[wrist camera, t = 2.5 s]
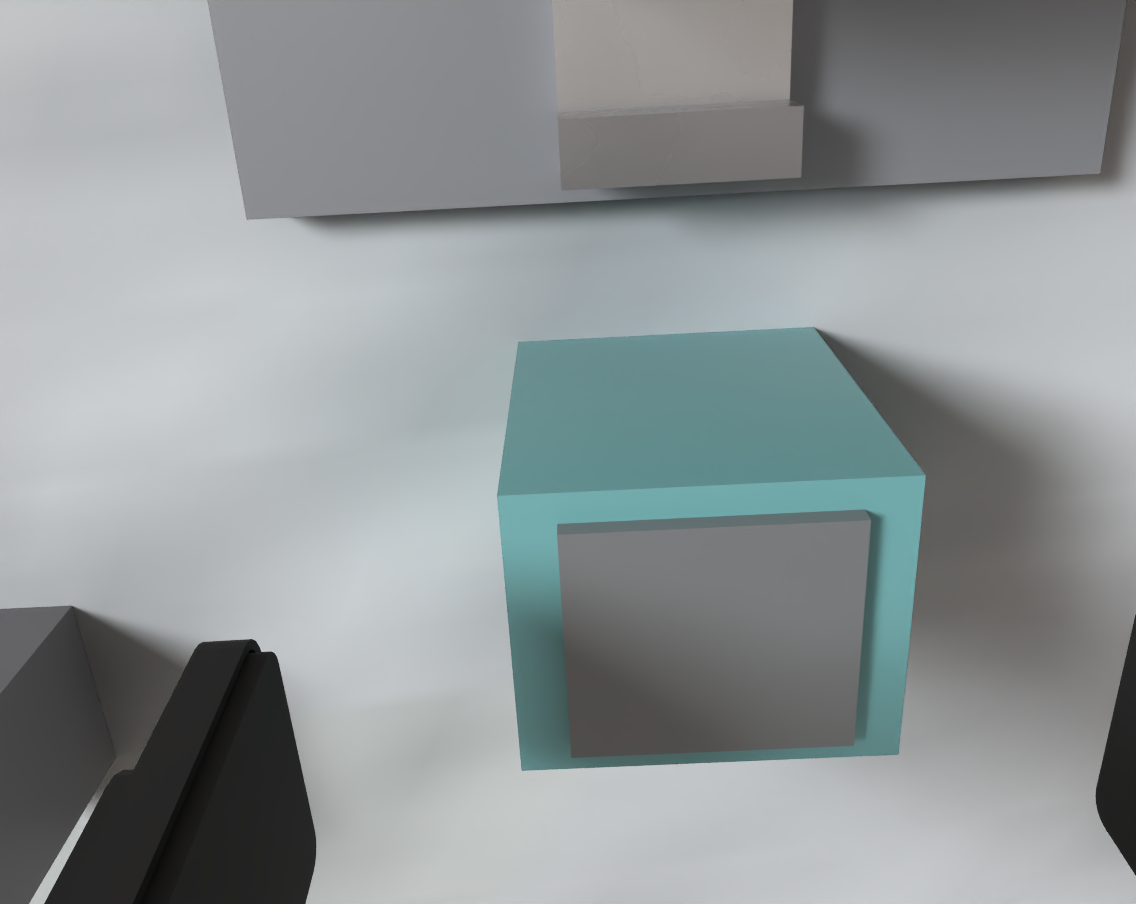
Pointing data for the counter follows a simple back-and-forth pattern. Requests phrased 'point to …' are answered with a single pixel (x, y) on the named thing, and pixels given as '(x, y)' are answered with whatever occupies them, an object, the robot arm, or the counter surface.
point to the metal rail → (675, 92)
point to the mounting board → (532, 176)
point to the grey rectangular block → (44, 742)
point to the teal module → (704, 552)
